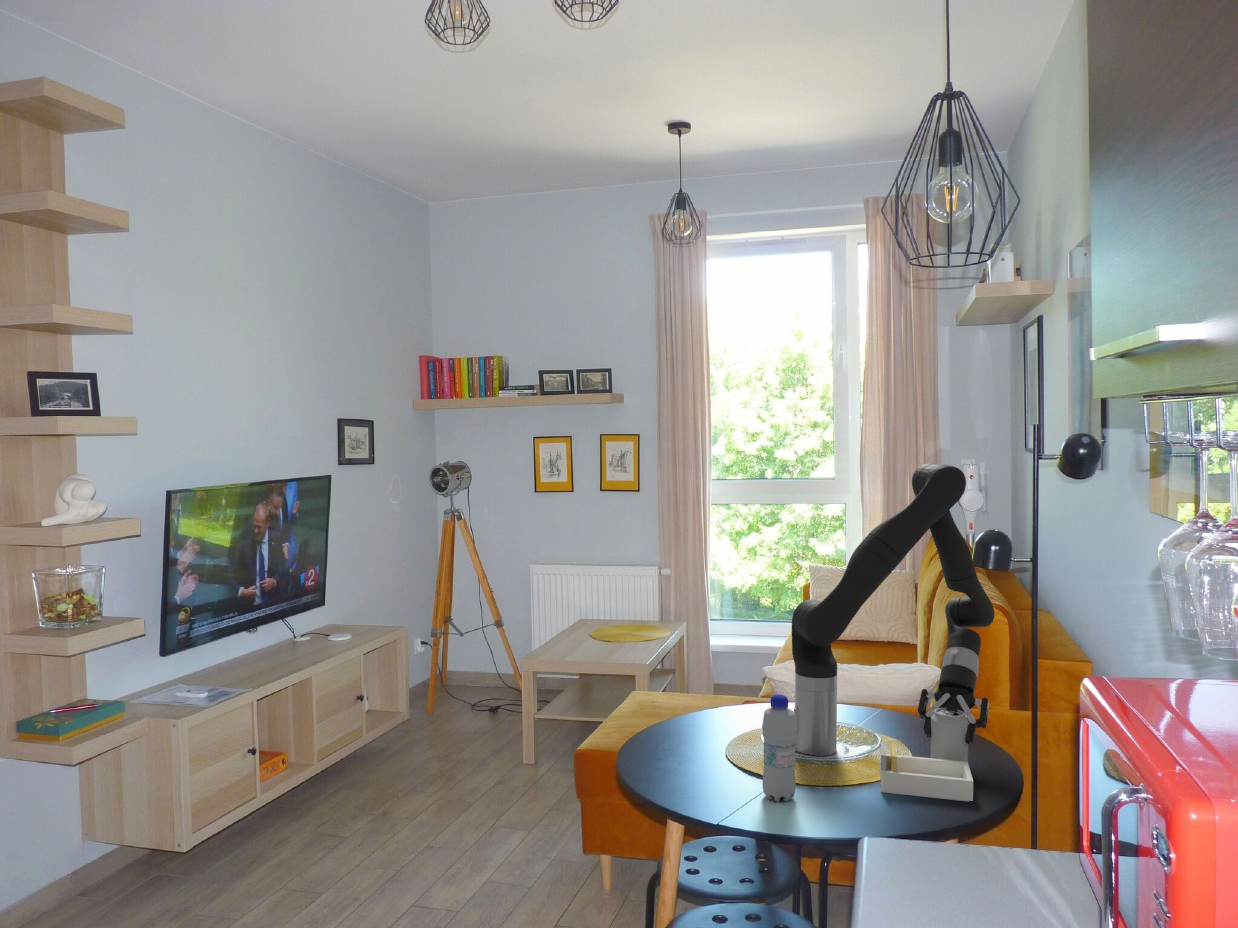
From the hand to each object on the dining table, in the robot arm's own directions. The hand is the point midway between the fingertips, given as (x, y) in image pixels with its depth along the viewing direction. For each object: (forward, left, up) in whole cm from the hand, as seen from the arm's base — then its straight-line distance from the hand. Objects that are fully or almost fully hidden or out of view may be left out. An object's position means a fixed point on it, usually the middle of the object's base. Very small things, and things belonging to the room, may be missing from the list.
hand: (948, 738), depth 190 cm
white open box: (-5, -12, -6) cm, 14 cm away
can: (0, +1, -7) cm, 7 cm away
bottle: (-33, -26, -7) cm, 42 cm away
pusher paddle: (-11, -12, -5) cm, 17 cm away
